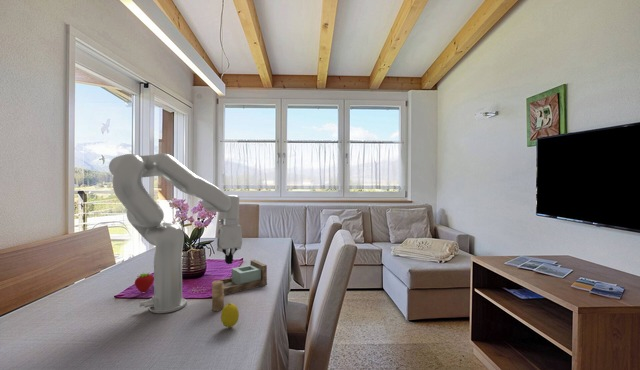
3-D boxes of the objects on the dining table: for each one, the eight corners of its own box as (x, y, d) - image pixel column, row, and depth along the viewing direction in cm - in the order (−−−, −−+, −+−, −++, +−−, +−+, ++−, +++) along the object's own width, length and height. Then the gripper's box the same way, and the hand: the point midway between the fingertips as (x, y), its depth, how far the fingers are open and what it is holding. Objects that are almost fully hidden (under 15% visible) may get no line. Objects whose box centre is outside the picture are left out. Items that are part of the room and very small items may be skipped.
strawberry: (157, 291, 128) (157, 268, 128) (139, 297, 121) (139, 273, 121) (149, 289, 131) (148, 267, 131) (131, 295, 124) (131, 271, 124)
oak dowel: (214, 312, 107) (214, 284, 107) (210, 308, 110) (210, 282, 110) (225, 309, 109) (225, 282, 109) (221, 305, 113) (221, 279, 113)
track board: (224, 294, 124) (224, 273, 124) (213, 286, 134) (213, 266, 134) (266, 284, 136) (266, 265, 136) (254, 277, 146) (254, 259, 146)
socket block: (240, 286, 130) (240, 273, 130) (231, 281, 138) (231, 268, 138) (261, 282, 136) (260, 269, 136) (251, 276, 144) (251, 264, 144)
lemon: (229, 333, 91) (228, 308, 91) (217, 329, 94) (217, 304, 94) (242, 326, 96) (242, 301, 96) (230, 322, 99) (230, 298, 99)
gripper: (216, 224, 125) (214, 267, 124) (249, 222, 134) (248, 263, 133) (210, 222, 131) (209, 264, 130) (242, 221, 140) (241, 259, 139)
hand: (228, 263), depth 132 cm, fingers closed
